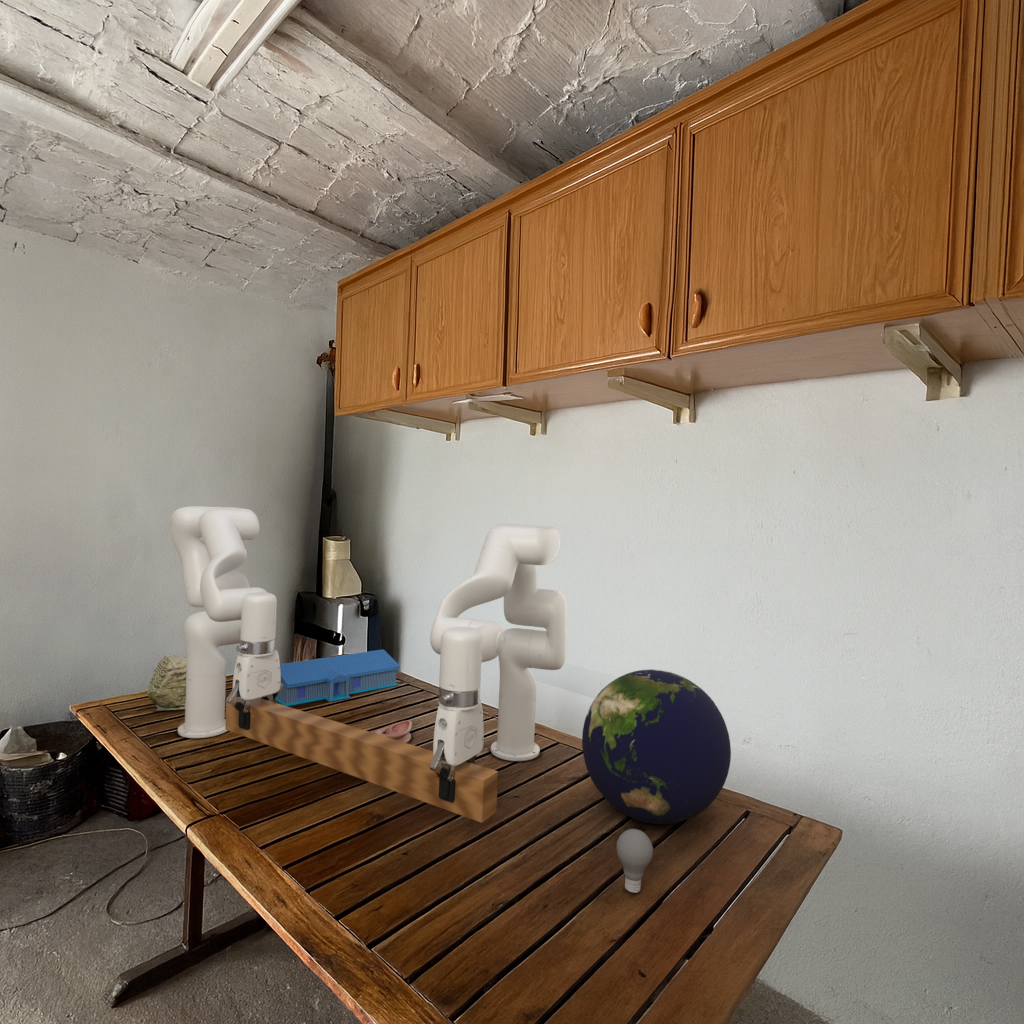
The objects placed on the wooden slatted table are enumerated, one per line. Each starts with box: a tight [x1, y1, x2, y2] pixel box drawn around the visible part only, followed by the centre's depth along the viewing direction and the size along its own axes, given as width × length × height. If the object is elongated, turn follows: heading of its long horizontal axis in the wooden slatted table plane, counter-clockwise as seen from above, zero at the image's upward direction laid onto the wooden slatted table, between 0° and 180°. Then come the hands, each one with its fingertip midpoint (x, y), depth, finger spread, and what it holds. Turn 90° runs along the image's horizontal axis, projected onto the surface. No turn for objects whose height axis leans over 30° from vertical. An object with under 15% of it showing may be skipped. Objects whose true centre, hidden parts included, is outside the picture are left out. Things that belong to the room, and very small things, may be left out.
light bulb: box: [615, 828, 654, 894], centre depth 106 cm, size 6×6×10 cm
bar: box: [225, 696, 499, 823], centre depth 131 cm, size 73×5×8 cm, turn 59°
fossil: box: [147, 654, 187, 712], centre depth 185 cm, size 9×18×15 cm, turn 132°
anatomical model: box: [369, 719, 413, 743], centre depth 166 cm, size 13×4×12 cm
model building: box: [274, 649, 401, 707], centre depth 208 cm, size 39×24×10 cm, turn 132°
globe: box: [581, 668, 732, 825], centre depth 131 cm, size 30×30×30 cm
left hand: (254, 724), depth 146 cm, fingers closed on bar, 4 cm apart
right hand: (455, 792), depth 116 cm, fingers closed on bar, 4 cm apart
